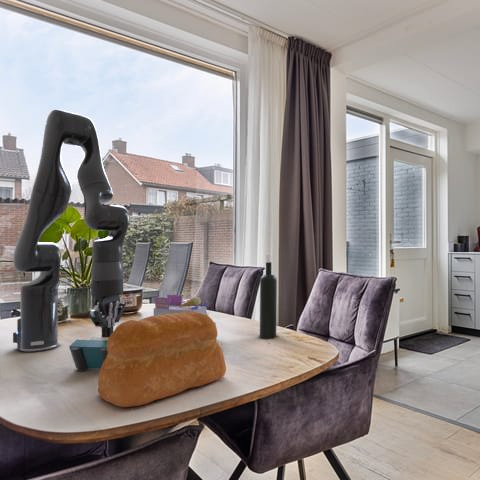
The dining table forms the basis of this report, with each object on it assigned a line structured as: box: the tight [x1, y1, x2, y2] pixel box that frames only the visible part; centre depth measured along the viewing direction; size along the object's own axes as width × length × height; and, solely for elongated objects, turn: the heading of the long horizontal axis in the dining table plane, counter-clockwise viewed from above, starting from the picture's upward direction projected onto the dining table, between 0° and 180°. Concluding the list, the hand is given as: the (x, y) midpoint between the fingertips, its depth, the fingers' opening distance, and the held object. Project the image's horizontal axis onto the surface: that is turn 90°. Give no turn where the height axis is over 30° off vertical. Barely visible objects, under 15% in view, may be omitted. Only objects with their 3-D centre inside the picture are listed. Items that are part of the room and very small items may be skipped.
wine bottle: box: [259, 252, 278, 340], centre depth 146 cm, size 6×6×30 cm
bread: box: [97, 311, 227, 408], centre depth 97 cm, size 16×26×17 cm, turn 145°
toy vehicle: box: [153, 294, 217, 326], centre depth 140 cm, size 9×20×15 cm, turn 78°
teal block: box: [68, 336, 109, 372], centre depth 109 cm, size 12×6×7 cm, turn 87°
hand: (107, 340), depth 112 cm, fingers closed
